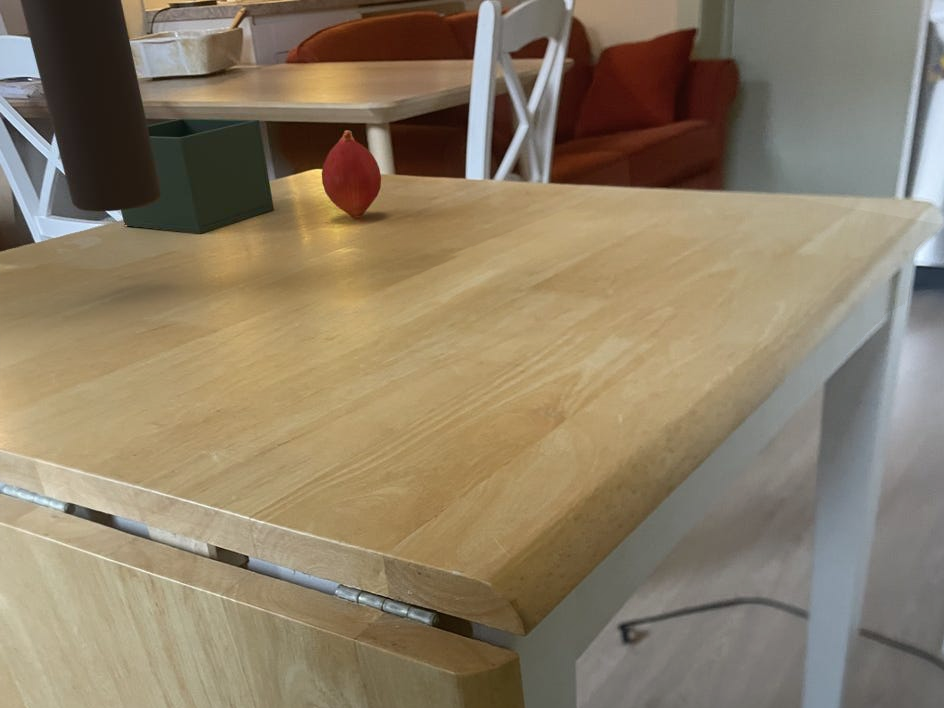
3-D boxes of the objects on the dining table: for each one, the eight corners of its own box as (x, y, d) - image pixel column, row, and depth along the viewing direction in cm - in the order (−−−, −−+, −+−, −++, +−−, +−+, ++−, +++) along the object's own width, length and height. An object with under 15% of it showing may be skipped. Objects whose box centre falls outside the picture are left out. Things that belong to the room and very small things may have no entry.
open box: (200, 233, 100) (180, 138, 95) (124, 226, 105) (102, 135, 100) (274, 209, 107) (259, 119, 102) (200, 203, 112) (182, 118, 108)
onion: (315, 221, 101) (302, 133, 97) (354, 209, 105) (344, 124, 100) (358, 227, 98) (346, 136, 93) (396, 214, 102) (387, 126, 97)
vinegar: (180, 197, 80) (118, -117, 69) (112, 216, 75) (34, -117, 64) (123, 191, 83) (54, -110, 72) (55, 208, 79) (-30, -111, 67)
